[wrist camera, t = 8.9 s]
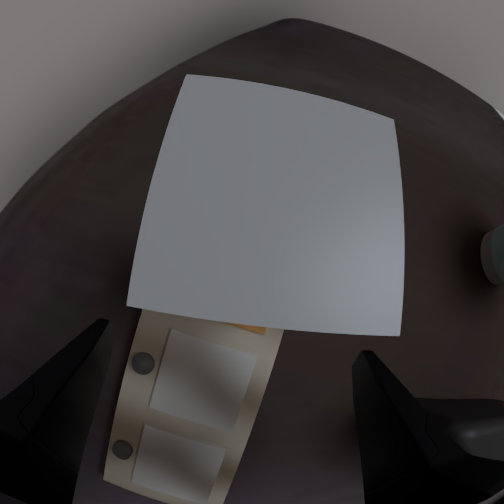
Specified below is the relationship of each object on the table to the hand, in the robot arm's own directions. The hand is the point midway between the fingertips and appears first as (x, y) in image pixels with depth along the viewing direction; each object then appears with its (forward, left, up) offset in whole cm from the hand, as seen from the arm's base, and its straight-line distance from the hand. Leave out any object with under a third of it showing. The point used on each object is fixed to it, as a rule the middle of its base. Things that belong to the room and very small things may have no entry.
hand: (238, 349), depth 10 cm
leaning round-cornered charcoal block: (-3, -21, -10) cm, 24 cm away
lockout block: (+3, +1, -8) cm, 9 cm away
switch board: (-4, +1, -10) cm, 11 cm away
